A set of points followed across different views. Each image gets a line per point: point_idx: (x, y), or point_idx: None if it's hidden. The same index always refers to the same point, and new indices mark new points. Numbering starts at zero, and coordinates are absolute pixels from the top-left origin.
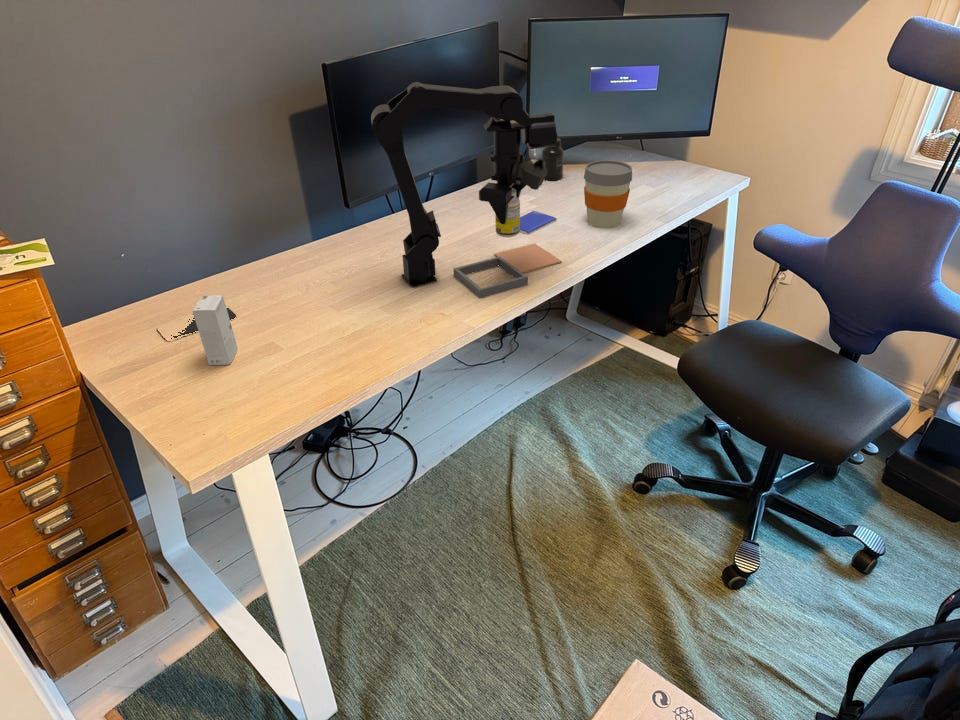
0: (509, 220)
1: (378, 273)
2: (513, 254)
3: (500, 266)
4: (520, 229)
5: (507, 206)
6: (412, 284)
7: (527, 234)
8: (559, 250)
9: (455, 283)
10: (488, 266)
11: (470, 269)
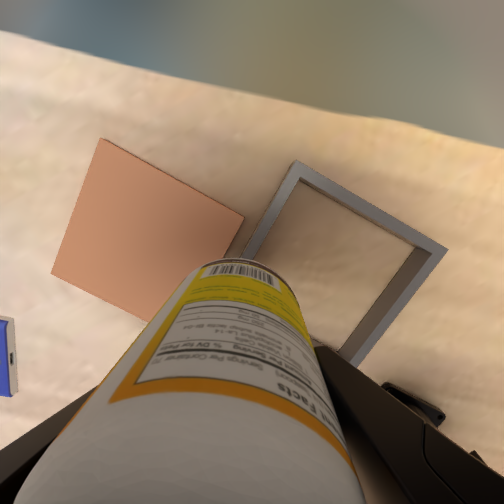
0: (304, 334)
1: None
2: (152, 290)
3: None
4: (6, 348)
5: (437, 494)
6: (438, 419)
7: (12, 320)
8: (35, 189)
9: None
10: None
11: None
